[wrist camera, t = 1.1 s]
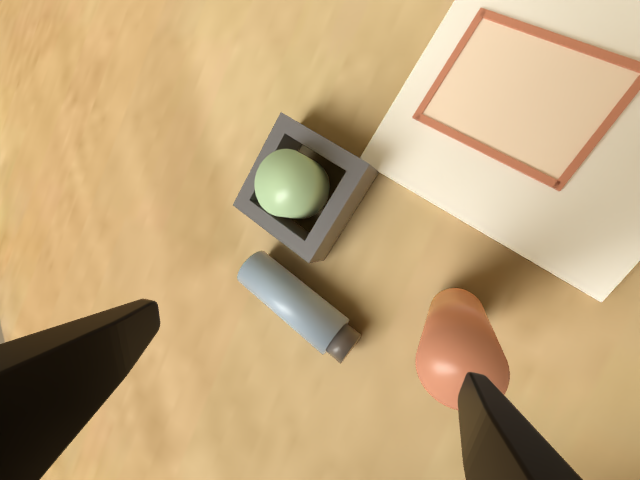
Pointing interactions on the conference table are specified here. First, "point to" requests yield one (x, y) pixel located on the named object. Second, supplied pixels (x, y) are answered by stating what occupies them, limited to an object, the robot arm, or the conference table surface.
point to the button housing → (337, 208)
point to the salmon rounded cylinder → (458, 347)
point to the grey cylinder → (298, 305)
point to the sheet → (529, 131)
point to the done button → (291, 185)
